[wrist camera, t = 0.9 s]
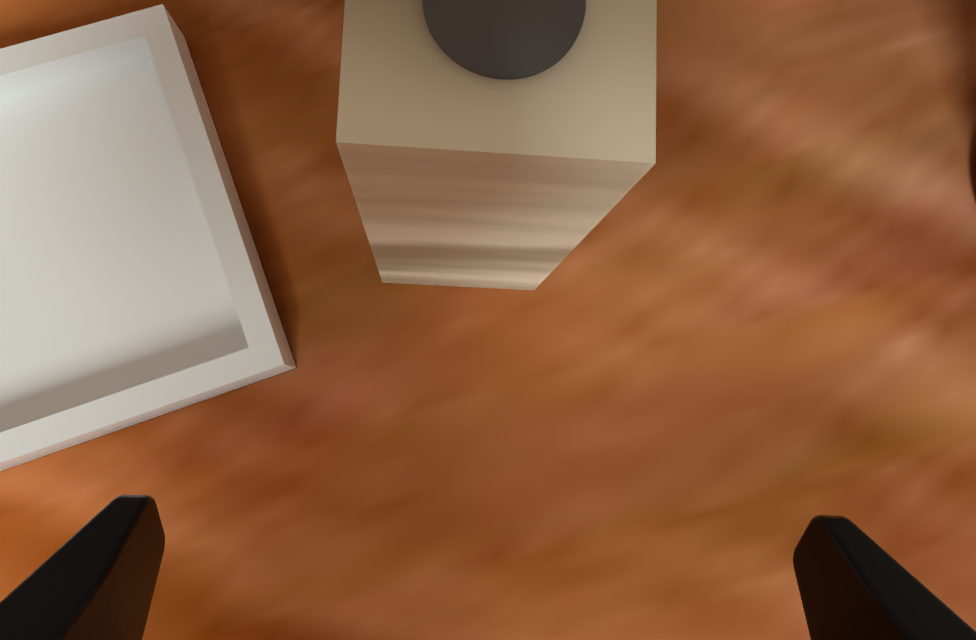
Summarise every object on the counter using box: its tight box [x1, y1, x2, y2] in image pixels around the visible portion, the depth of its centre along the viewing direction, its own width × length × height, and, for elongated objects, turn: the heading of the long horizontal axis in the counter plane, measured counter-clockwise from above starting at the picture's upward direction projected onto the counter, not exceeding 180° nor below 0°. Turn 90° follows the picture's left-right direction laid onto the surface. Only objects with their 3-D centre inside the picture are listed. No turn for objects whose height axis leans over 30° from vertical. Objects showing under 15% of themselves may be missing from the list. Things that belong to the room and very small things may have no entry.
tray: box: [0, 4, 296, 471], centre depth 21 cm, size 12×12×2 cm
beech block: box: [336, 0, 657, 290], centre depth 17 cm, size 5×5×13 cm
